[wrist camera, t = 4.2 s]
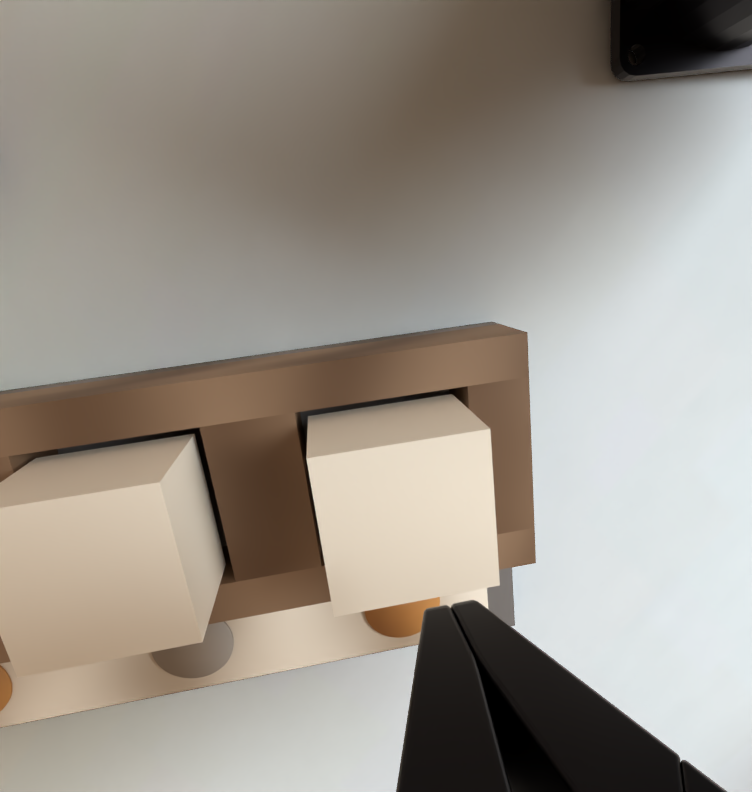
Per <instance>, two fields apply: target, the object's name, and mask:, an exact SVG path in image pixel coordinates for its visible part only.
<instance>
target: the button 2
mask: <svg viewBox="0 0 752 792" xmlns="http://www.w3.org/2000/svg"><path fill="white" fill-rule="evenodd" d="M306 459H307V465H308V471H309V477H310V482H311V488H312V494H313V500H314V505H315V511H316V517H317V523H318V528H319V534H320V540H321V545H322V551H323V557H324V563H325V568H326V574H327V580H328V586H329V591H330V597H331V603H332V609H333V614H334V617H337V616H343V615H348V614H353V613H358V612H363V611H369V610H374V609H379V608H384V607H390V606H395V605H400V604H405V603H410V602H416V601H421V600H426V599H431V598H437V597H442V596H447V595H452V594H458V593H463V592H468V591H473V590H478V589H484V588H489V587H494V586H499V585H500V578H499V562H498V546H497V529H496V513H495V496H494V480H493V463H492V447H491V431H490V428H489V427H488V426H487V425H486V424H485V423H483V422H482V421H481V420H480V419H479V418H478V417H477V416H476V415H475V414H474V413H473V412H471V411H470V410H469V409H468V408H467V407H466V406H465V405H464V404H463V403H462V402H460V401H459V400H458V399H457V398H456V397H455V396H454V395H453V394H449V395H442V396H436V397H429V398H423V399H416V400H410V401H403V402H397V403H390V404H384V405H377V406H371V407H364V408H358V409H351V410H345V411H338V412H332V413H325V414H319V415H312V416H308V429H307V454H306Z"/></svg>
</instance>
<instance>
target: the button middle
mask: <svg viewBox="0 0 752 792" xmlns="http://www.w3.org/2000/svg"><path fill="white" fill-rule="evenodd" d="M225 565H226V563H225V559H224V554H223V550H222V546H221V542H220V538H219V533H218V529H217V525H216V521H215V517H214V513H213V508H212V504H211V500H210V496H209V492H208V487H207V483H206V479H205V475H204V471H203V467H202V462H201V458H200V454H199V450H198V446H197V441H196V437H195V434H189V435H182V436H176V437H169V438H163V439H156V440H150V441H143V442H137V443H130V444H124V445H117V446H111V447H104V448H98V449H91V450H85V451H78V452H72V453H65V454H59V455H52V456H46V457H39V458H35V459H34V460H32V461H31V462H29V463H28V464H27V465H25V466H24V467H22V468H21V469H19V470H18V471H16V472H15V473H13V474H12V475H10V476H9V477H8V478H6V479H5V480H3V481H2V482H0V636H1V639H2V641H3V644H4V646H5V649H6V651H7V654H8V656H9V659H10V661H11V664H12V666H13V668H14V671H15V673H16V676H17V678H18V677H24V676H29V675H34V674H39V673H45V672H50V671H55V670H60V669H65V668H71V667H76V666H81V665H86V664H92V663H97V662H102V661H107V660H112V659H118V658H123V657H128V656H133V655H139V654H144V653H149V652H154V651H160V650H165V649H170V648H175V647H180V646H186V645H191V644H196V643H201V642H203V639H204V636H205V632H206V629H207V626H208V622H209V619H210V616H211V612H212V609H213V606H214V602H215V599H216V595H217V592H218V589H219V585H220V582H221V579H222V575H223V572H224V568H225Z"/></svg>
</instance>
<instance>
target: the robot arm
mask: <svg viewBox="0 0 752 792" xmlns="http://www.w3.org/2000/svg"><path fill="white" fill-rule="evenodd" d="M629 51H632V52H633V53H634V54H635V56H636V64H635V65H632V64H631V63H630V62H629V59H628V53H629ZM611 68H612V71H613V73H614V75H615V77H617V78H618V79H620V80H622V81H635V80H645V79H655V78H665V77H676V76H686V75H696V74H706V73H716V72H726V71H736V70H746V69H752V0H611ZM396 792H727V791H726V790H724V789H723V788H722V787H720V786H719V785H718V784H716V783H715V782H714V781H712V780H711V779H710V778H708V777H707V776H706V775H704V774H703V773H702V772H701V771H699V770H698V769H697V768H695V767H694V766H693V765H691V764H690V763H689V762H687V761H686V760H682V761H681V763H680V757H679V755H678V754H677V753H675V752H674V751H673V750H671V749H670V748H669V747H667V746H666V745H665V744H664V743H662V742H661V741H660V740H658V739H657V738H656V737H654V736H653V735H652V734H651V733H649V732H648V731H647V730H645V729H644V728H643V727H641V726H640V725H639V724H637V723H636V722H635V721H634V720H632V719H631V718H630V717H628V716H627V715H626V714H624V713H623V712H622V711H620V710H619V709H618V708H617V707H615V706H614V705H613V704H611V703H610V702H609V701H607V700H606V699H605V698H603V697H602V696H601V695H600V694H598V693H597V692H596V691H594V690H593V689H592V688H590V687H589V686H588V685H586V684H585V683H584V682H583V681H581V680H580V679H579V678H577V677H576V676H575V675H573V674H572V673H571V672H570V671H568V670H567V669H566V668H564V667H563V666H562V665H560V664H559V663H558V662H556V661H555V660H554V659H553V658H551V657H550V656H549V655H547V654H546V653H545V652H543V651H542V650H541V649H539V648H538V647H537V646H536V645H534V644H533V643H532V642H530V641H529V640H528V639H526V638H525V637H524V636H522V635H521V634H520V633H519V632H517V631H516V630H515V629H513V628H512V627H511V626H509V625H508V624H507V623H505V622H504V621H503V620H502V619H500V618H499V617H498V616H496V615H495V614H494V613H492V612H491V611H490V610H489V609H487V608H486V607H485V606H483V605H482V604H481V603H479V602H478V601H476V600H468V601H463V602H458V603H454V604H452V605H451V608H450V607H449V606H448V605H442V606H437V607H432V608H427V609H426V610H425V611H424V613H423V620H422V626H421V633H420V639H419V646H418V652H417V659H416V665H415V672H414V679H413V685H412V692H411V698H410V705H409V711H408V718H407V724H406V731H405V738H404V744H403V751H402V757H401V764H400V770H399V777H398V783H397V790H396Z"/></svg>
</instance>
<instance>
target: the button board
mask: <svg viewBox="0 0 752 792" xmlns="http://www.w3.org/2000/svg"><path fill="white" fill-rule="evenodd" d="M449 394H453V395H454V396H455V397H456V398H457V399H458V400H459V401H460V402H462V403H463V404H464V405H465V406H466V407H467V408H468V409H469V410H470V411H471V412H473V413H474V414H475V415H476V416H477V417H478V418H479V419H480V420H481V421H482V422H483V423H485V424H486V425H487V426H488V427H489V428H490V431H491V447H492V463H493V480H494V496H495V513H496V529H497V546H498V562H499V578H500V585H499V586H494V587H489V588H484V589H478V590H473V591H468V592H463V593H458V594H452V595H447V596H442V597H437V598H431V599H426V600H421V601H416V602H410V603H405V604H400V605H395V606H390V607H384V608H379V609H374V610H369V611H363V612H358V613H353V614H348V615H343V616H337V617H334V614H333V609H332V603H331V597H330V591H329V586H328V580H327V574H326V568H325V563H324V557H323V551H322V545H321V540H320V534H319V528H318V523H317V517H316V511H315V505H314V500H313V494H312V488H311V482H310V477H309V471H308V465H307V459H306V454H307V429H308V416H312V415H319V414H325V413H332V412H338V411H345V410H351V409H358V408H364V407H371V406H377V405H384V404H390V403H397V402H403V401H410V400H416V399H423V398H429V397H436V396H442V395H449ZM189 434H195V437H196V441H197V446H198V450H199V454H200V458H201V462H202V467H203V471H204V475H205V479H206V483H207V487H208V492H209V496H210V500H211V504H212V508H213V513H214V517H215V521H216V525H217V529H218V533H219V538H220V542H221V546H222V550H223V554H224V559H225V563H226V565H225V568H224V572H223V575H222V579H221V582H220V585H219V589H218V592H217V595H216V599H215V602H214V606H213V609H212V612H211V616H210V619H209V622H208V626H207V629H206V632H205V636H204V639H203V642H201V643H196V644H191V645H186V646H180V647H175V648H170V649H165V650H160V651H154V652H149V653H144V654H139V655H133V656H128V657H123V658H118V659H112V660H107V661H102V662H97V663H92V664H86V665H81V666H76V667H71V668H65V669H60V670H55V671H50V672H45V673H39V674H34V675H29V676H24V677H18V678H17V676H16V673H15V671H14V668H13V666H12V664H11V661H10V659H9V656H8V654H7V651H6V649H5V646H4V644H3V641H2V639H1V636H0V728H2V727H7V726H12V725H17V724H22V723H27V722H32V721H37V720H42V719H47V718H52V717H57V716H62V715H67V714H72V713H77V712H82V711H87V710H92V709H97V708H102V707H107V706H112V705H117V704H122V703H127V702H132V701H137V700H142V699H148V698H153V697H158V696H163V695H168V694H173V693H178V692H183V691H188V690H193V689H198V688H203V687H208V686H213V685H218V684H223V683H228V682H233V681H238V680H243V679H248V678H253V677H258V676H263V675H268V674H273V673H278V672H283V671H288V670H293V669H298V668H303V667H308V666H313V665H318V664H323V663H328V662H333V661H338V660H343V659H348V658H353V657H358V656H363V655H368V654H373V653H378V652H383V651H388V650H393V649H398V648H403V647H408V646H413V645H418V644H419V639H420V633H421V626H422V620H423V613H424V611H425V610H426V609H427V608H432V607H437V606H442V605H448V606H449V607H450V608H451V605H452V604H454V603H458V602H463V601H468V600H476V601H478V602H479V603H481V604H482V605H483V606H485V607H486V608H487V609H489V610H490V611H491V612H492V613H494V614H495V615H496V616H498V617H499V618H500V619H502V620H503V621H504V622H505V623H507V624H508V625H509V626H514V625H515V620H514V600H513V581H512V567H516V566H522V565H527V564H532V563H536V559H535V532H534V504H533V477H532V450H531V423H530V395H529V368H528V341H527V332H524V331H520V330H517V329H514V328H511V327H507V326H504V325H501V324H497V323H494V322H487V323H480V324H473V325H466V326H459V327H452V328H445V329H438V330H431V331H424V332H417V333H409V334H402V335H395V336H388V337H381V338H374V339H367V340H360V341H353V342H346V343H339V344H332V345H325V346H318V347H310V348H303V349H296V350H289V351H282V352H275V353H268V354H261V355H254V356H247V357H240V358H233V359H226V360H219V361H211V362H204V363H197V364H190V365H183V366H176V367H169V368H162V369H155V370H148V371H141V372H134V373H127V374H120V375H113V376H105V377H98V378H91V379H84V380H77V381H70V382H63V383H56V384H49V385H42V386H35V387H28V388H21V389H14V390H6V391H0V482H2V481H3V480H5V479H6V478H8V477H9V476H10V475H12V474H13V473H15V472H16V471H18V470H19V469H21V468H22V467H24V466H25V465H27V464H28V463H29V462H31V461H32V460H34V459H35V458H39V457H46V456H52V455H59V454H65V453H72V452H78V451H85V450H91V449H98V448H104V447H111V446H117V445H124V444H130V443H137V442H143V441H150V440H156V439H163V438H169V437H176V436H182V435H189Z"/></svg>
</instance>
